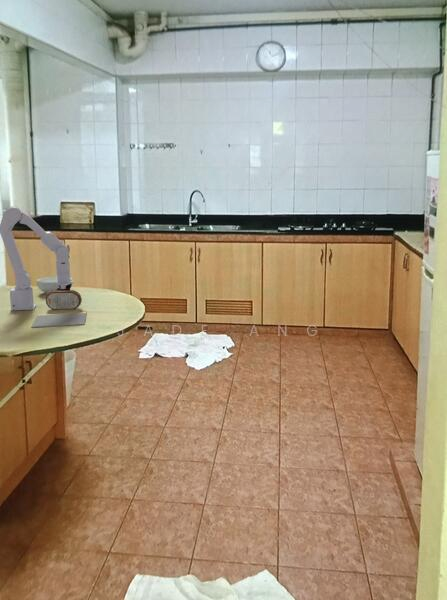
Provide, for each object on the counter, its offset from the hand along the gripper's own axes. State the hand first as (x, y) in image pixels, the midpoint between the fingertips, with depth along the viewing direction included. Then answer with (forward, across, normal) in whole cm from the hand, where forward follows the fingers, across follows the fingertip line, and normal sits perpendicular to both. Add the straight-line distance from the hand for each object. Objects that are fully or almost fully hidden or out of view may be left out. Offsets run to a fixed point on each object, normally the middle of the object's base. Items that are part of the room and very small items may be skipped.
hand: (65, 301), depth 268 cm
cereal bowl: (+2, +28, +7) cm, 28 cm away
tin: (+2, -8, 0) cm, 9 cm away
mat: (+1, -28, 0) cm, 28 cm away
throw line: (+1, -18, 0) cm, 18 cm away
